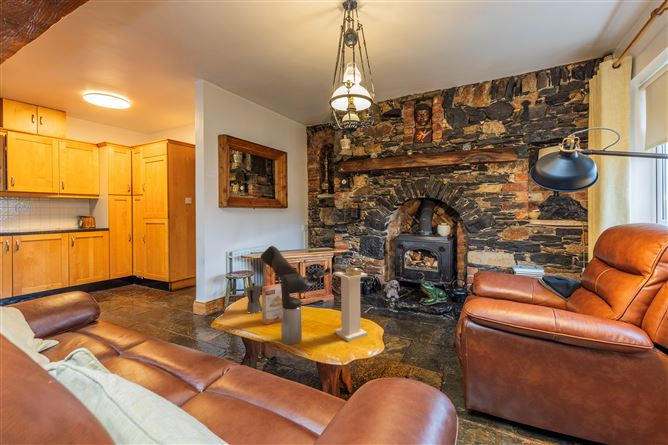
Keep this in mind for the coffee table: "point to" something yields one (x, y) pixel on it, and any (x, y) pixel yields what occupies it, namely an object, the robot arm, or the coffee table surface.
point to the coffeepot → (253, 298)
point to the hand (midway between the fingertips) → (323, 269)
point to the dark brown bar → (348, 270)
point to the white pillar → (350, 307)
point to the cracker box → (272, 304)
